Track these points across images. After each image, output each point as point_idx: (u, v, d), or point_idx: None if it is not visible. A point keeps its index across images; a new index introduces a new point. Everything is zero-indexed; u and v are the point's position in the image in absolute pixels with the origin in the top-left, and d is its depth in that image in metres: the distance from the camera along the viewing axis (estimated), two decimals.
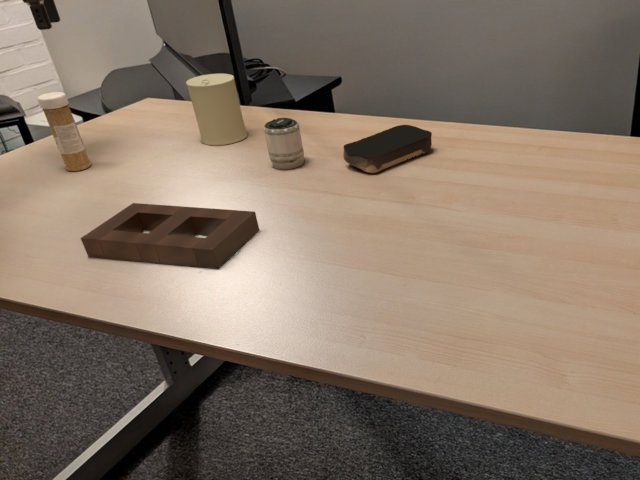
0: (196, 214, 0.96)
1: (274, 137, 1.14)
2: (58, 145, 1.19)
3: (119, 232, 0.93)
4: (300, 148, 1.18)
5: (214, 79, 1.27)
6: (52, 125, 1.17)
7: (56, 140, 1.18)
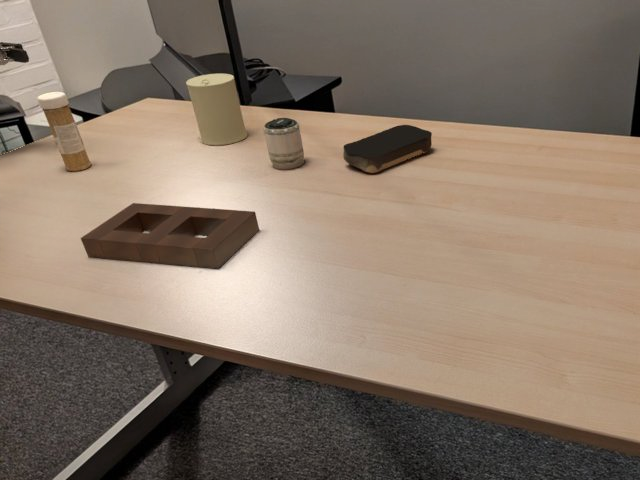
0: (196, 214, 0.96)
1: (274, 137, 1.14)
2: (58, 145, 1.19)
3: (119, 232, 0.93)
4: (300, 148, 1.18)
5: (214, 79, 1.27)
6: (52, 125, 1.17)
7: (56, 140, 1.18)
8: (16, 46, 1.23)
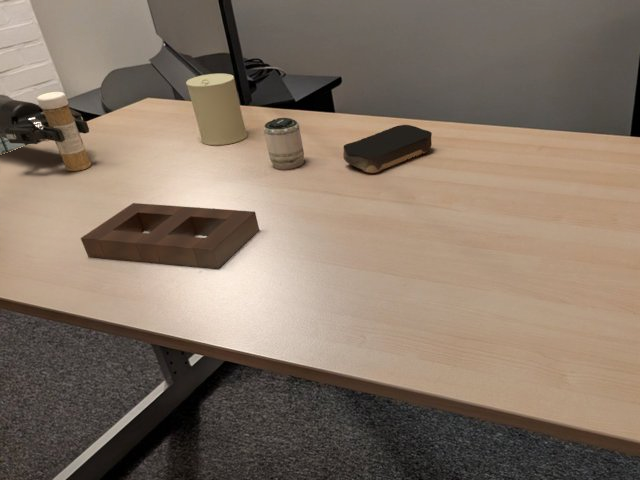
0: (196, 214, 0.96)
1: (274, 137, 1.14)
2: (58, 145, 1.19)
3: (119, 232, 0.93)
4: (300, 148, 1.18)
5: (214, 79, 1.27)
6: (52, 125, 1.17)
7: None
8: (74, 116, 1.22)
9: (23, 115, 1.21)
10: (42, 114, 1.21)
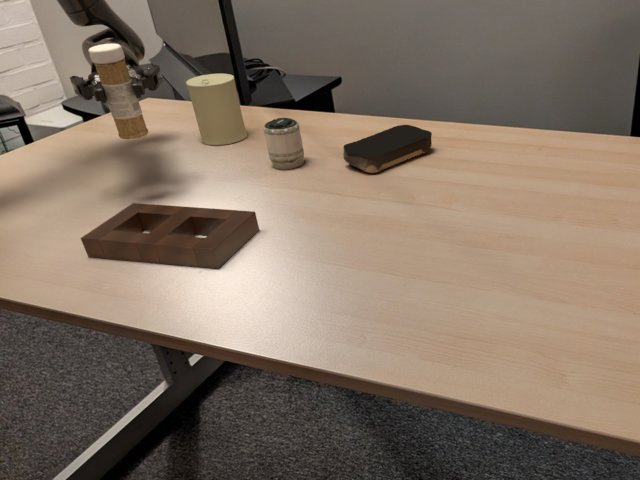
0: (196, 214, 0.96)
1: (274, 137, 1.14)
2: None
3: (119, 232, 0.93)
4: (300, 148, 1.18)
5: (214, 79, 1.27)
6: None
7: None
8: (144, 75, 1.02)
9: None
10: None
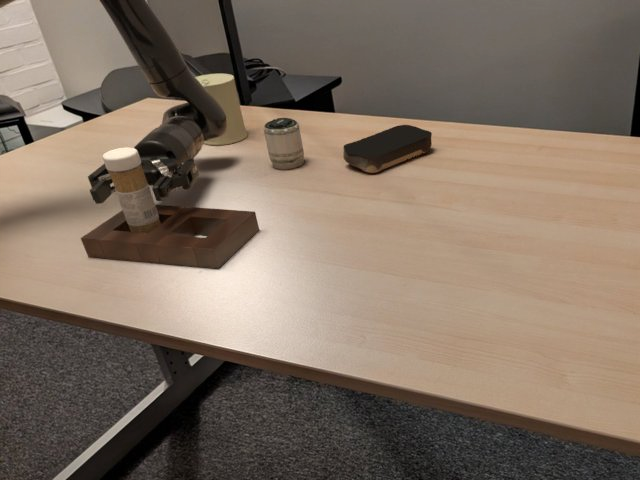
0: (196, 214, 0.96)
1: (274, 137, 1.14)
2: None
3: (119, 232, 0.93)
4: (300, 148, 1.18)
5: (214, 79, 1.27)
6: None
7: None
8: (178, 173, 0.94)
9: (145, 154, 0.99)
10: (150, 161, 0.96)
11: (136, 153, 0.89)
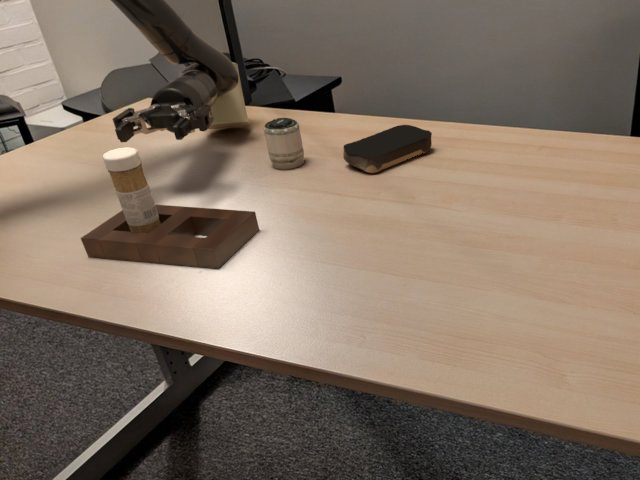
0: (196, 214, 0.96)
1: (274, 137, 1.14)
2: None
3: (119, 232, 0.93)
4: (300, 148, 1.18)
5: None
6: None
7: None
8: (195, 116, 1.02)
9: (164, 101, 1.07)
10: (170, 106, 1.04)
11: (136, 153, 0.89)
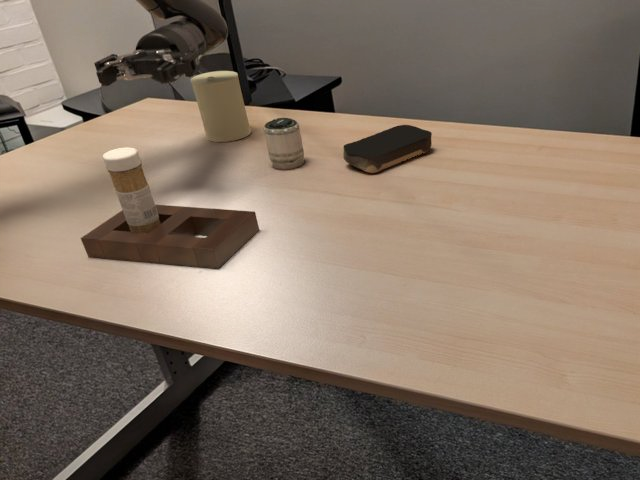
0: (196, 214, 0.96)
1: (274, 137, 1.14)
2: None
3: (119, 232, 0.93)
4: (300, 148, 1.18)
5: (218, 76, 1.29)
6: None
7: None
8: (181, 60, 0.97)
9: (149, 47, 1.02)
10: (155, 51, 0.99)
11: (136, 153, 0.89)
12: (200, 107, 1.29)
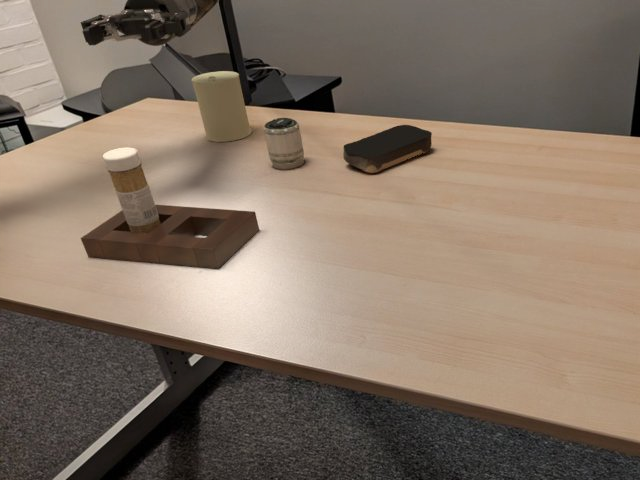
0: (196, 214, 0.96)
1: (274, 137, 1.14)
2: None
3: (119, 232, 0.93)
4: (300, 148, 1.18)
5: (219, 76, 1.29)
6: None
7: None
8: (170, 19, 0.94)
9: (138, 7, 0.99)
10: (143, 10, 0.96)
11: (136, 153, 0.89)
12: (201, 107, 1.29)
